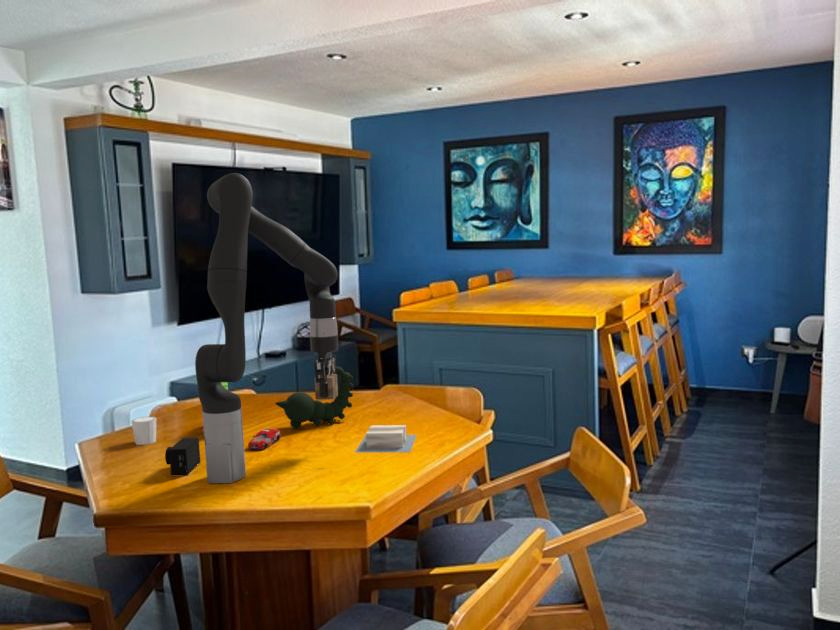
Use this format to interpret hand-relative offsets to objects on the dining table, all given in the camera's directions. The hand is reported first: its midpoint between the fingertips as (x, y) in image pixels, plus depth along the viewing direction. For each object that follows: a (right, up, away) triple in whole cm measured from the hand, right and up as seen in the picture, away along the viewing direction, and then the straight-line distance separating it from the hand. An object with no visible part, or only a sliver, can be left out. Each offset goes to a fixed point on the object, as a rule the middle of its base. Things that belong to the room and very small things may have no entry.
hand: (326, 394), depth 191 cm
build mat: (+17, -14, +2) cm, 22 cm away
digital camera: (-35, -18, -11) cm, 41 cm away
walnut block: (0, -1, 0) cm, 1 cm away
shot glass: (-56, -16, +15) cm, 60 cm away
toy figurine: (-7, -13, +27) cm, 30 cm away
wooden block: (+16, -14, +2) cm, 21 cm away
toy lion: (-35, -14, +27) cm, 46 cm away
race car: (-19, -15, +8) cm, 26 cm away
